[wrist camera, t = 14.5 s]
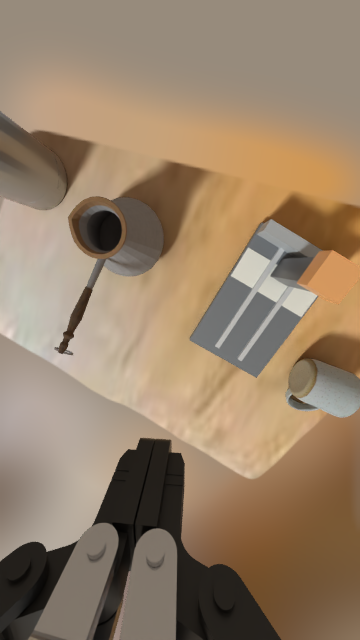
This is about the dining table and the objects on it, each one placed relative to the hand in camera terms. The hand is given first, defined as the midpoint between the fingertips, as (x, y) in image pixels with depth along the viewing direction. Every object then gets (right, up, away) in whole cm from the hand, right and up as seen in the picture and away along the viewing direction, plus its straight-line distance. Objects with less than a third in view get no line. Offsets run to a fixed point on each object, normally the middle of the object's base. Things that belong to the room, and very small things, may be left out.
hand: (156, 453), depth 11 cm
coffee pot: (-8, +15, +27) cm, 32 cm away
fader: (+17, +14, +24) cm, 33 cm away
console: (+14, +9, +27) cm, 31 cm away
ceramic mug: (+25, -5, +30) cm, 39 cm away
